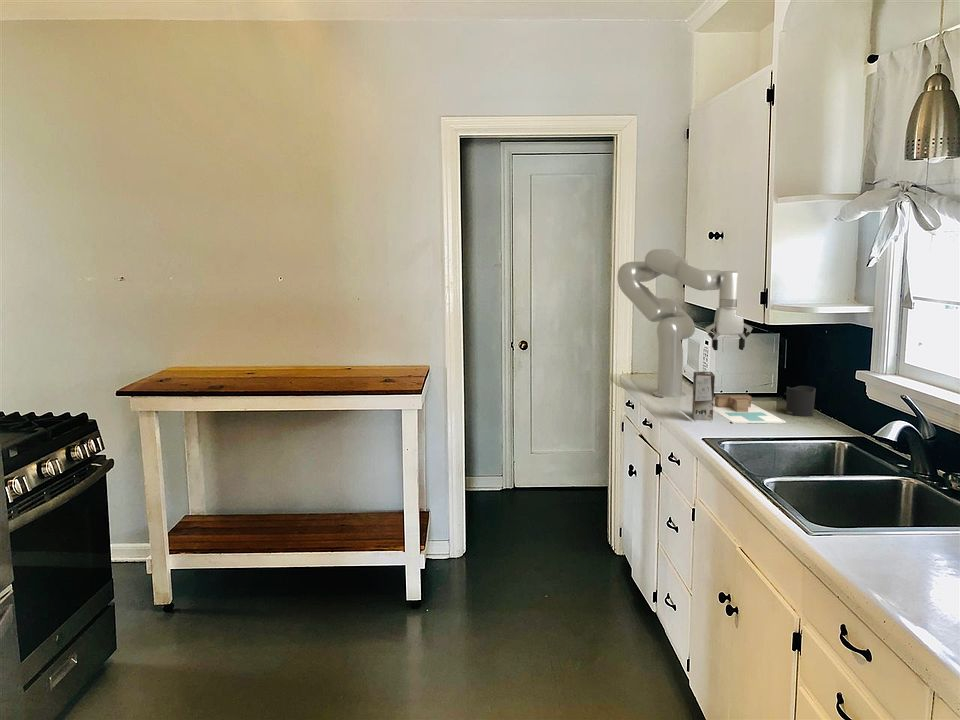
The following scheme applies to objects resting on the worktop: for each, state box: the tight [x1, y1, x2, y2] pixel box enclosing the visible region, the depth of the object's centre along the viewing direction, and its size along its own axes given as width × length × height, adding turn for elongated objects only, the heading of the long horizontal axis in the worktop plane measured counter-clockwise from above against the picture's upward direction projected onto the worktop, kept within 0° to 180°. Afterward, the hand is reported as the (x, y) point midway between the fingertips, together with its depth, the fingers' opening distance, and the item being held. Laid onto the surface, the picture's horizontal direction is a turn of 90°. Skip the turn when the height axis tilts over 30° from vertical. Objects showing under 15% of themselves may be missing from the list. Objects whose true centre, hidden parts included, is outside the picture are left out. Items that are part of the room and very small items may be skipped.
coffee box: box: [691, 371, 716, 422], centre depth 256 cm, size 9×6×16 cm
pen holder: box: [785, 385, 817, 418], centre depth 261 cm, size 9×9×10 cm
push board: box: [713, 401, 787, 425], centre depth 267 cm, size 34×18×1 cm, turn 1°
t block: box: [714, 394, 752, 412], centre depth 271 cm, size 12×12×4 cm
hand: (728, 349), depth 279 cm, fingers open, 9 cm apart
